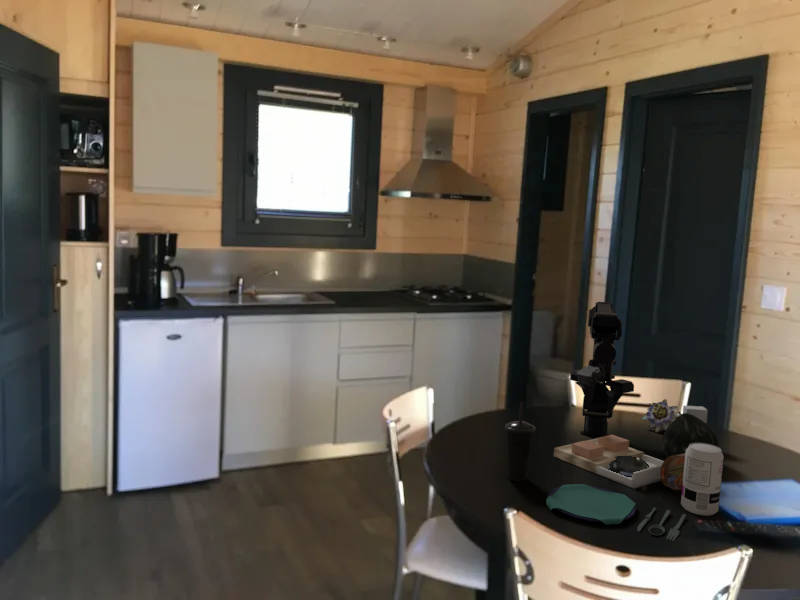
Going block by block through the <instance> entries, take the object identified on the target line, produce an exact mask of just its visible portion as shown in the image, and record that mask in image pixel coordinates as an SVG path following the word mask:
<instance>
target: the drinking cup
mask: <svg viewBox="0 0 800 600" xmlns="http://www.w3.org/2000/svg"><path fill="white" fill-rule="evenodd" d="M523 407H524V401H520V404H519V418H518V419H519V420H514V421H510V422H507V423H505V426H504V428H505V435H506V436H505V438H506V464H507V465H506V467H507V468H506V470H507V479H508V478H509V480H510V481H512V480H513V482H525V481H527V478H528V472H529V465H530V460H531V459H530V458H531V455H532V454H531V453H532V446H533V441H534V436H535V435H534V433H535V431H536V426H535V425H533V424H531V423H529V422H527V421H524V420H523V410H524V409H523Z"/></svg>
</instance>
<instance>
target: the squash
mask: <svg viewBox="0 0 800 600" xmlns="http://www.w3.org/2000/svg"><path fill="white" fill-rule="evenodd" d="M664 430H665V429H664ZM691 443H705V444H710V445H714V446H717V447H719V446H720V445H719V440H718V436H717V434H716V431H715V430H714V428H713V427H712V426H711V425H710V424H708V423H705V422H704V421H702V420H701V419H699V418H697V417H696V416H694V415H691V414H689V413H683V412H682V413H681V415H680V416H679V417H678V418H677V419H676V420H674V421H673V422H671V423H670V425H669V426H668V427H667V429H666V430H665V431H664V433H663V436H662V445H663V446H662V448H663V452H664V455H665V457H666V458H668V457H670V456H674V455H679V454H684V453H686V449H687V448H688V447H689V444H691ZM719 448H720V447H719Z"/></svg>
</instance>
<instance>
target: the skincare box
mask: <svg viewBox="0 0 800 600" xmlns="http://www.w3.org/2000/svg"><path fill="white" fill-rule="evenodd" d="M682 408H683V409H682V414H683V413H689V414H691V415H694V416H696V417H697V418H699V419H701V420H702V421H704V422H705V423H707V422H708V409H707V408H706V407H704V406H701V405H700V406H696V405H683V407H682ZM707 424H708V423H707Z"/></svg>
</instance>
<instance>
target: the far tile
mask: <svg viewBox="0 0 800 600" xmlns="http://www.w3.org/2000/svg"><path fill="white" fill-rule="evenodd" d="M598 445H601V446H604V449H607V450H610V451H612V452H619V451H623V450H627V449H629V447H630V440H629V439H626V438H624V437H620V436H617V435H615V434H609V435H608V436H604V437H599V438H598Z"/></svg>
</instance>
